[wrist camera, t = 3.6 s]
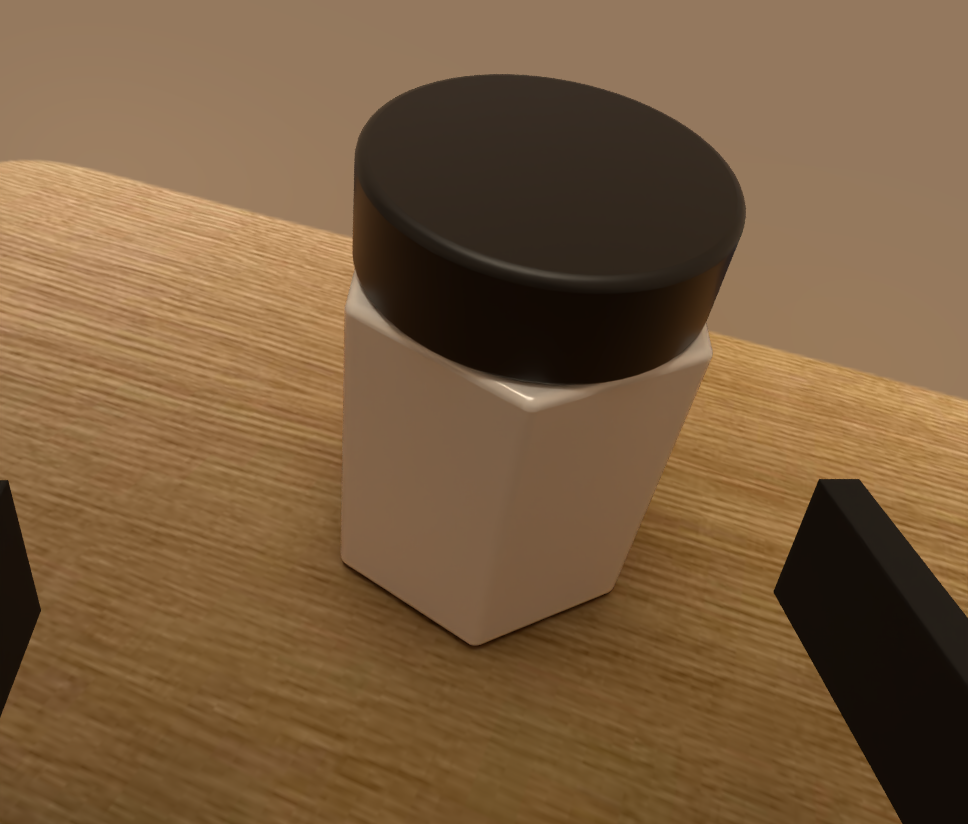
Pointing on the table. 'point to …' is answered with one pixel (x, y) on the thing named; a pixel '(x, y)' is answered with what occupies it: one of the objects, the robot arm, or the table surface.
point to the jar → (521, 339)
